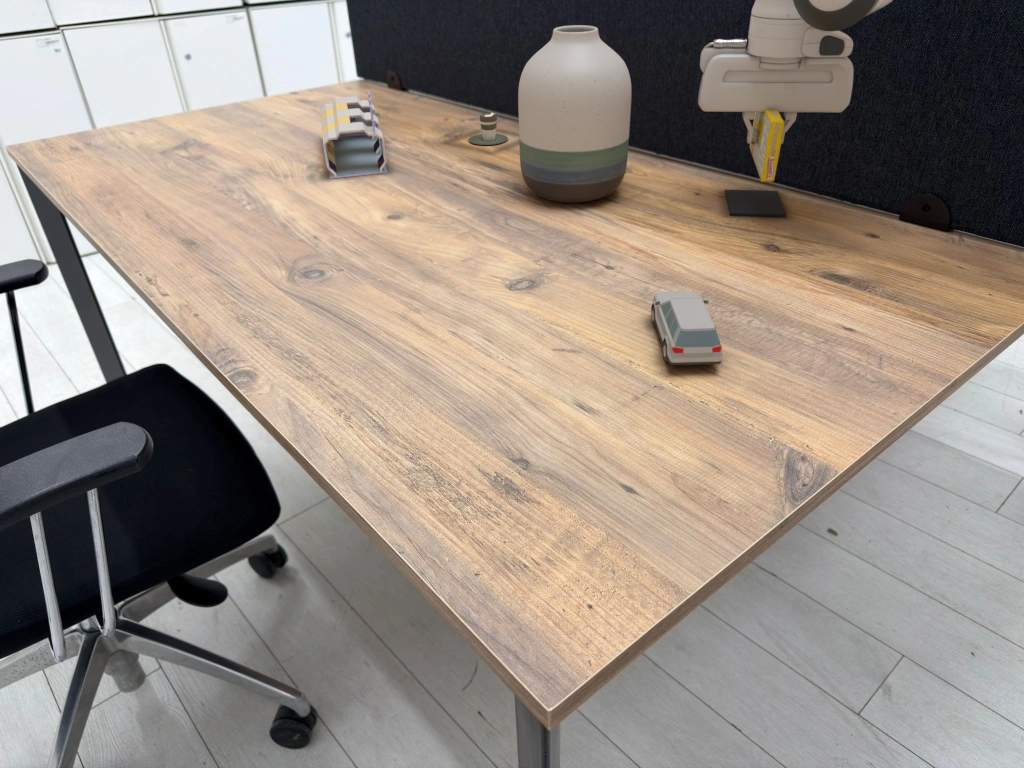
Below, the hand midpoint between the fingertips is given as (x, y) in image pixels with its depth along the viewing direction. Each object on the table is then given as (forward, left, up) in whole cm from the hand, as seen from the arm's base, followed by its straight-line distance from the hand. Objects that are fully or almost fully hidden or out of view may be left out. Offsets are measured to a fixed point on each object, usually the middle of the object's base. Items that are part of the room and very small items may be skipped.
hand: (764, 142), depth 105 cm
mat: (0, 0, -9) cm, 9 cm away
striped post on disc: (+47, -31, -9) cm, 57 cm away
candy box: (0, 0, -3) cm, 3 cm away
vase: (+28, -3, -9) cm, 30 cm away
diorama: (+71, -20, -9) cm, 74 cm away
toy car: (+12, +42, -9) cm, 45 cm away
